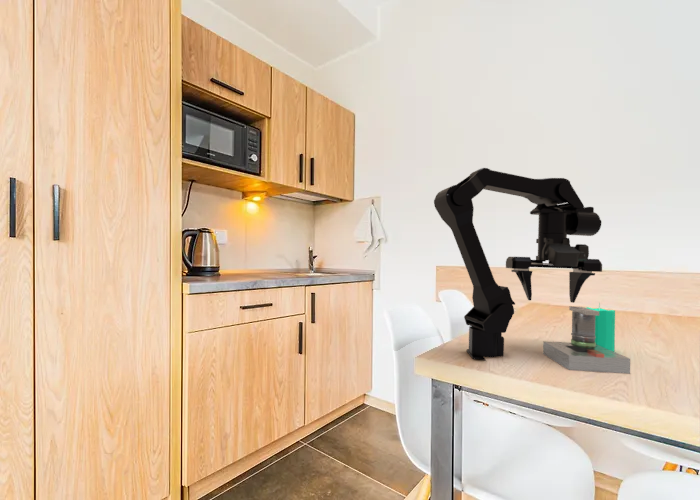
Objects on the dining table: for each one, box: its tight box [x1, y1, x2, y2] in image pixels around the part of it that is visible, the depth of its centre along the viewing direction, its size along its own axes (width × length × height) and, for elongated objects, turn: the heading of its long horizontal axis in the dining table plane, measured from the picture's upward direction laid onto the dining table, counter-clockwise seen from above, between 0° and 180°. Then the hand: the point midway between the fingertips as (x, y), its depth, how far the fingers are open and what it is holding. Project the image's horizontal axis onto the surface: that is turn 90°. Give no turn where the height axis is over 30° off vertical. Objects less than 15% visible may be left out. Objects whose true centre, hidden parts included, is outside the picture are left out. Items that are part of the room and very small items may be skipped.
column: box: [568, 305, 599, 349], centre depth 71 cm, size 4×6×8 cm, turn 174°
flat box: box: [542, 340, 631, 375], centre depth 71 cm, size 16×16×4 cm
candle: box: [585, 302, 616, 353], centre depth 82 cm, size 6×6×12 cm
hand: (550, 301), depth 78 cm, fingers open, 9 cm apart
